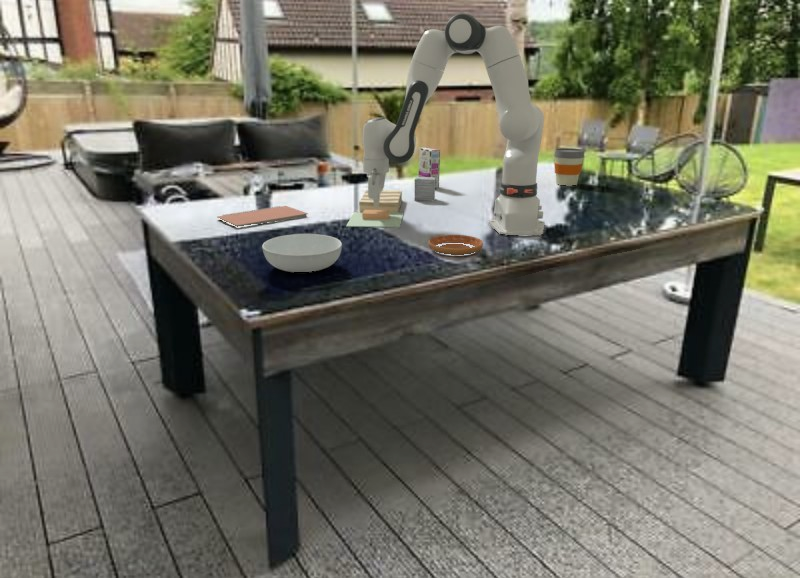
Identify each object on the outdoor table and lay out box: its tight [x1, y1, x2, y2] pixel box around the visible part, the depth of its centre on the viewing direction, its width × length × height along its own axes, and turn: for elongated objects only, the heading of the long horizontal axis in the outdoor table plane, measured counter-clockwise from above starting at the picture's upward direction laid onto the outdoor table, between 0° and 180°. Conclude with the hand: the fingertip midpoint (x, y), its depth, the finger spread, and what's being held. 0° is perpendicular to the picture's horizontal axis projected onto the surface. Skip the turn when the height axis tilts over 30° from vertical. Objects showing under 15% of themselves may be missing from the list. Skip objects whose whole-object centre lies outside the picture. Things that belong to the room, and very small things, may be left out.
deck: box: [358, 189, 403, 213], centre depth 238 cm, size 22×14×4 cm, turn 176°
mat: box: [345, 211, 404, 228], centre depth 219 cm, size 20×18×1 cm
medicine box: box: [414, 176, 436, 202], centre depth 248 cm, size 8×4×9 cm, turn 84°
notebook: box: [216, 205, 309, 227], centre depth 222 cm, size 27×17×2 cm, turn 129°
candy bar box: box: [418, 147, 441, 189], centre depth 272 cm, size 11×5×16 cm, turn 25°
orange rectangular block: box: [362, 210, 390, 220], centre depth 221 cm, size 6×9×2 cm, turn 86°
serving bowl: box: [261, 233, 343, 273], centre depth 168 cm, size 21×21×7 cm
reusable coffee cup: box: [553, 147, 585, 187], centre depth 277 cm, size 13×13×15 cm
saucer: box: [428, 234, 484, 255], centre depth 184 cm, size 16×16×3 cm
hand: (376, 206), depth 220 cm, fingers closed
